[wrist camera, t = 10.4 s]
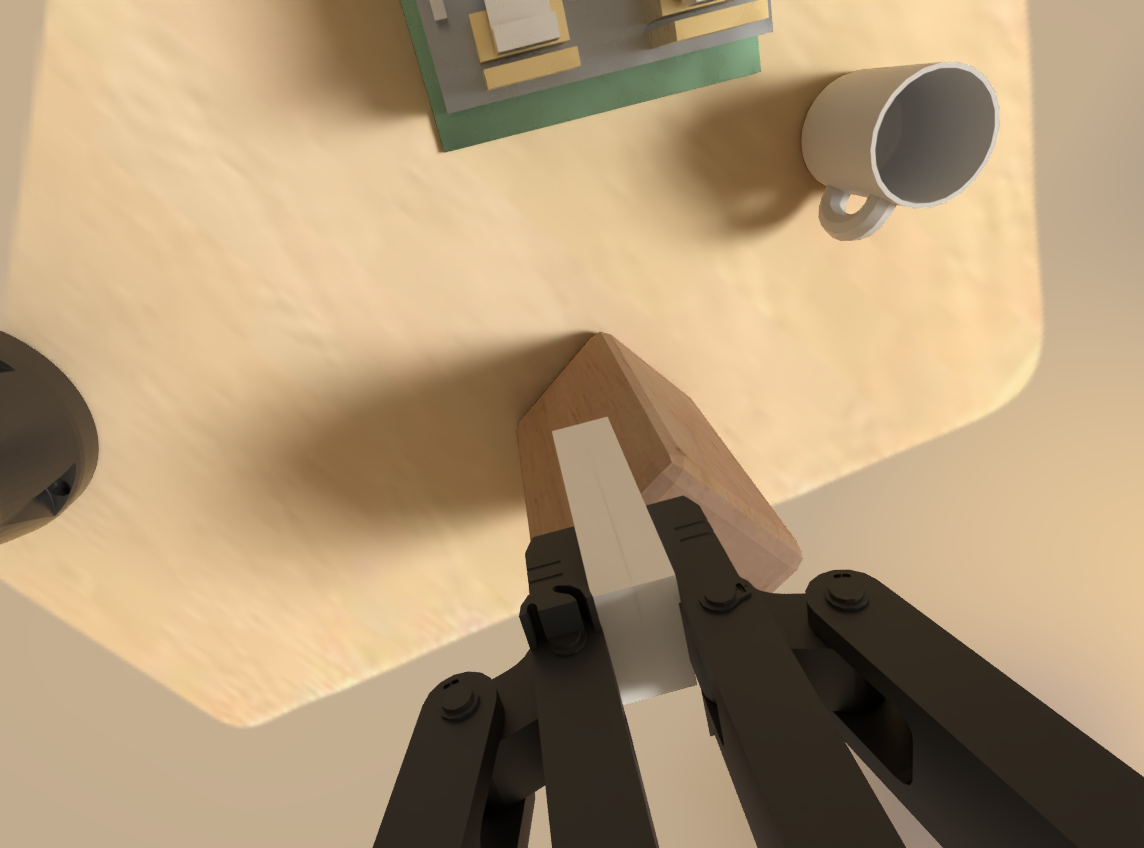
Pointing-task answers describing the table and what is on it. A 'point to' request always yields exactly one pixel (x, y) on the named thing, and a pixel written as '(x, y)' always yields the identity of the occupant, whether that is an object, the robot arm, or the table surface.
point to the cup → (898, 140)
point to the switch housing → (575, 60)
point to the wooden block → (651, 457)
